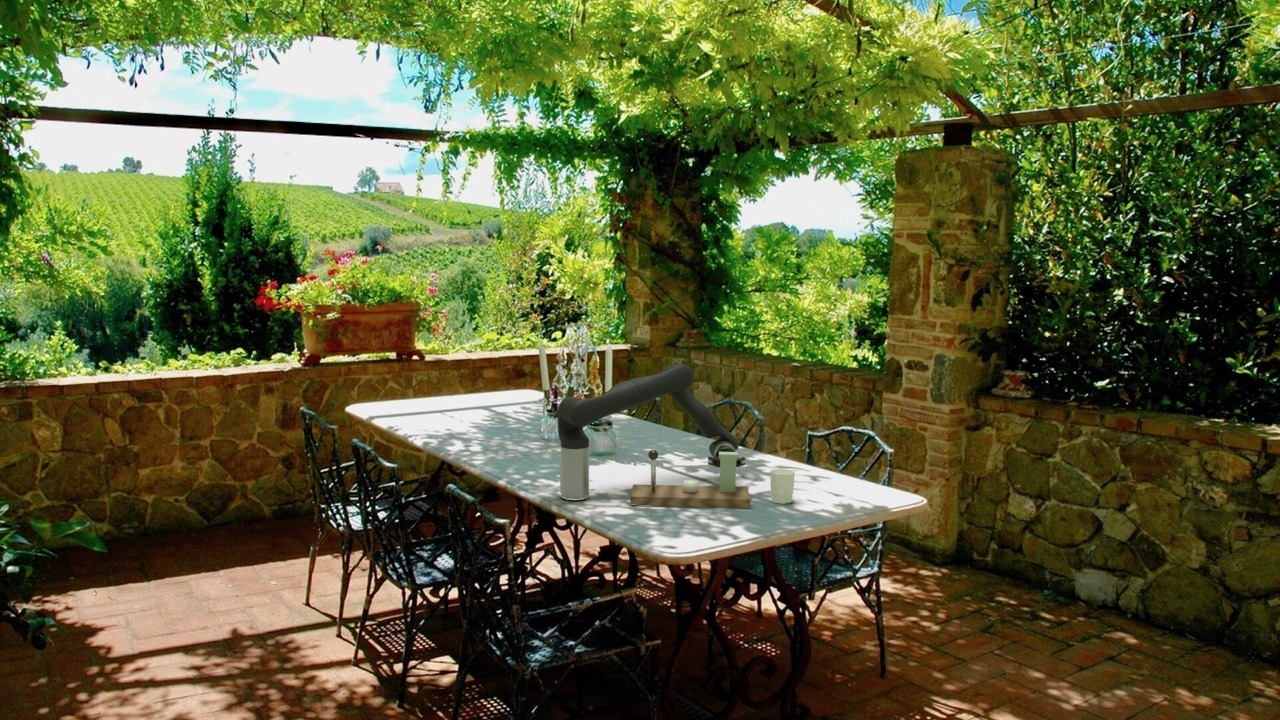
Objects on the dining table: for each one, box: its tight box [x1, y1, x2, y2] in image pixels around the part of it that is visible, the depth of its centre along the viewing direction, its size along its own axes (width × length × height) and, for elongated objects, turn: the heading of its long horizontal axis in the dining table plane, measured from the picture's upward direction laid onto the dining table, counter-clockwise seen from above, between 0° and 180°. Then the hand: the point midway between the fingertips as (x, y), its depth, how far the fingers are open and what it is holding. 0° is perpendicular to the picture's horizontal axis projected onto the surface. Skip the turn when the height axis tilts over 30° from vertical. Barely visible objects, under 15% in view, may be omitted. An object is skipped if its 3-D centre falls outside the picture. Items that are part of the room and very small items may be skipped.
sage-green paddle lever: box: [719, 451, 739, 492], centre depth 311 cm, size 6×2×13 cm, turn 87°
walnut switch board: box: [630, 483, 751, 510], centre depth 314 cm, size 38×16×3 cm, turn 87°
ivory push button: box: [682, 479, 699, 493], centre depth 314 cm, size 5×5×3 cm
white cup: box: [769, 468, 796, 505], centre depth 314 cm, size 8×8×10 cm
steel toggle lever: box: [647, 449, 659, 491], centre depth 310 cm, size 3×3×16 cm
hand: (727, 466), depth 311 cm, fingers closed
